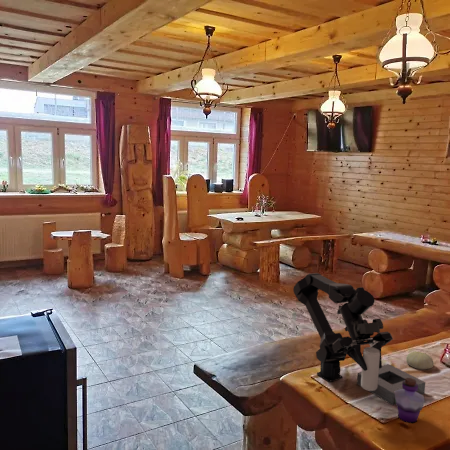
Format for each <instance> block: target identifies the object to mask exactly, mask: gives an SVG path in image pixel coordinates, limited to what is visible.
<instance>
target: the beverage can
mask: <svg viewBox="0 0 450 450" xmlns="http://www.w3.org/2000/svg"><path fill="white" fill-rule="evenodd" d="M362 356H363V358H364V361H365V363H366V366H367V370H366V371H364V370H363V369H362V368H361V372H362V374H361V386H362V387H361V386H360V387H361V388H362V389H363V390H366V391H368V392H370V391H374V390H376V389H377V385H378V373H379V360H380V351H379V350H378V349H376V348H373V347H370V346H366V347H364V348H363V351H362Z"/></svg>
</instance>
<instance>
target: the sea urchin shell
mask: <svg viewBox="0 0 450 450" xmlns="http://www.w3.org/2000/svg"><path fill="white" fill-rule="evenodd" d="M405 359H406V360H405V361H406V363H407V365H408V366H410V367H412V368H415V369H417V370H430V369H432V368H433V367H434V364H435V363H434V360H433V358H432V357H431V356H430V355H429V354H428V353H426V352H422V351H411V352H409V353H408V354H407V355H406V357H405Z"/></svg>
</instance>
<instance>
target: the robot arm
mask: <svg viewBox="0 0 450 450" xmlns="http://www.w3.org/2000/svg"><path fill="white" fill-rule="evenodd" d="M292 289H293V294H294V296H295V297H296V299H297V301H298V302H299V303H301V304H303V305H304V306H305V307H306V310H307V312H308V314H309V316H310V318H311V320H312V323H313V325H314V327H315V329H316V331H317V333H318V336H319V337H320V340H319V349H318V350H317V351H316V352H315V357H316V359H317V360H318V361H319V362H320V368H319V369H320V371H318V372H316V375H317V376H319V377H320V378H321V379H324V380H325V381H326V382H329V383H330V382H333V381H336V380H340V379H343V375H341V362H344V361H345V360H346V357H347V356H348V357H350V359H352V360H353V361H354V362H355V363H356V364H357V365H358V366H359V367H360V368H361V370H362V369H363V370H364V371H366V370H367V366H366V363H365V361H364V358H363V353H362V349H361V346H364V345H369V347H373V348H376V349H378V350H379V351H380V360H379V369H380V368H382V366H383V365H382V363H383V362H382V348H383V347H384V346H386V345H388V344H389V343H390V342H391V341H393V340H394V337H393V336H392V334H391V332H389V331H382V332H381V330H383V329H384V323H383V321H382V320H381V318H374V319H372V322H368V320H367V319H364V318H363V316H362V315H363V314H364V313H366V312H367V311H368V310H369V309H370V308H371V307H372V306H374V304H375V297H374V295H373V294H371V292H369V291H368V290H365V288H364V287H363V286H362V287H361V286H360V287H357V288H356V289H355V287H354V286H353V285H352V284H347V283H340V282H336V281H333V280H331V279H330V278H327V277H325V276H323V275H322V274H321V273H318V272H313V273H307V274H306V275H305V277H303V278H301V279H300V280H298V281H297V282H296V283H295V285H294V286H293V288H292ZM319 291H322V292H323V293H326V294H327V295H328V299H329V300H331V301H332V302H333V303H334V304H342V305H338V309H337V311H336V314H337V315H341V318H342V319H343V322H344V325H345V327H344V331H345V332H348V335H349V336H343V335H342V333H340V332H334V330H333V329H332V326H331V325H330V322H329V321H328V319H327V316H326V314H325V312H324V310H323V308H322V306H321V304H320V302H319V301H318V296H319ZM375 333H376V334H375Z"/></svg>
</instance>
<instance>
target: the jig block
mask: <svg viewBox="0 0 450 450" xmlns="http://www.w3.org/2000/svg"><path fill="white" fill-rule="evenodd" d="M361 374H362V371H360V372H357V375H356V376H357V378H356V379H357V380H356V385H358V386H360V387H361V388H362V386H361ZM406 378H413V379H415V380H416V383H417V384H418V391H416V392H417V393H419V394H421V395H424V394H425V391H426V381H423V380H422V379H420V378H418V377H415V376H414V375H412V374H410V373H408V372H406V371H405V370H404V371H403V370H401V369H399V368H397V367H396V366H394V365H391V364H389V363H386V364H383V365H382V368H380V369H379V373H378V385H377V389H376V390H374V391H369V392H370V393H371V394H373V395H374V396H376V397H378V398H380V399H381V398H382V400H383V401H385V402H386V401H387V404H390V405H392V406H394V405H395V406H396V403H395V392H394V391H397V390H400V389H403V387H402V383H403V381H405V379H406Z"/></svg>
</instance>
